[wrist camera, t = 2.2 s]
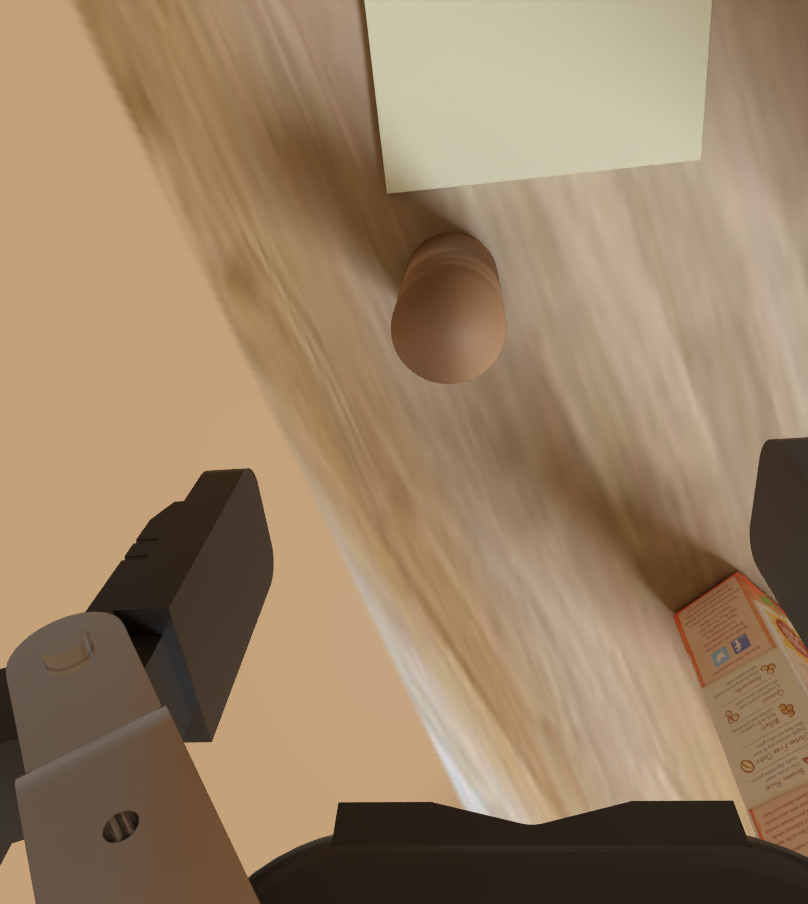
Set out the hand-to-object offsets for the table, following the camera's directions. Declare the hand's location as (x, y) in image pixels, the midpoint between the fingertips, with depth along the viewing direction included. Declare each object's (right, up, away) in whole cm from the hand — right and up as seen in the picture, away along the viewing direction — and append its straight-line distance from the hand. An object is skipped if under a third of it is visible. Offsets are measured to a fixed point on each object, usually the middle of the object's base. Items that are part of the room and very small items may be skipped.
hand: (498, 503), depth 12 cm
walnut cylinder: (+1, +11, +29) cm, 30 cm away
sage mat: (+5, +21, +23) cm, 31 cm away
